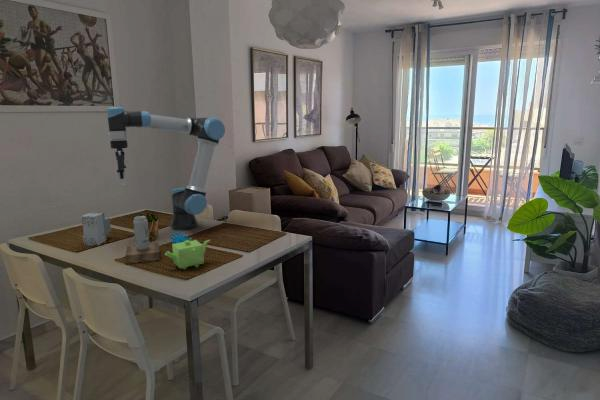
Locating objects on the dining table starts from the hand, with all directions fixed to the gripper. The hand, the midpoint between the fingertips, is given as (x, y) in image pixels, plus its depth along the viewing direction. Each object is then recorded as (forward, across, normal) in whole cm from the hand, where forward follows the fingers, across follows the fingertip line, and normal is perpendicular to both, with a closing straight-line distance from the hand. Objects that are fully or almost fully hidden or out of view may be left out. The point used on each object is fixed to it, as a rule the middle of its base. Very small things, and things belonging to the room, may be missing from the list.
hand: (123, 183), depth 201 cm
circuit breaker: (+31, -11, -15) cm, 36 cm away
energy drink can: (+27, +24, +6) cm, 37 cm away
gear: (+32, +17, +24) cm, 43 cm away
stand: (+31, +25, +6) cm, 40 cm away
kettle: (+31, +44, +25) cm, 60 cm away
